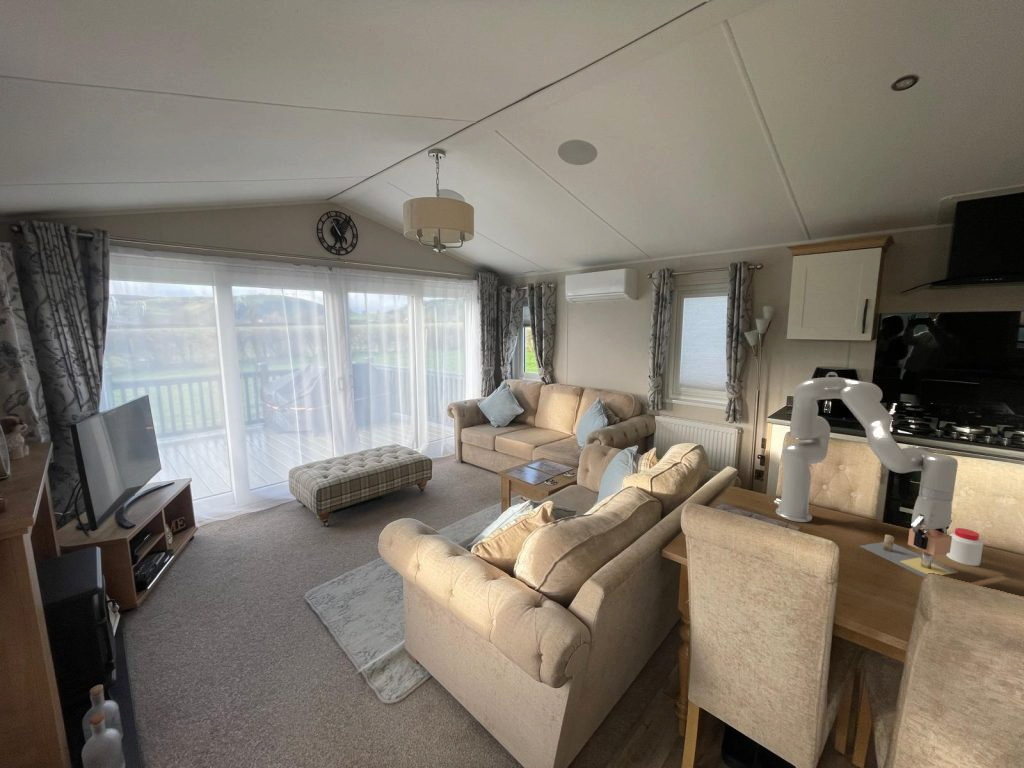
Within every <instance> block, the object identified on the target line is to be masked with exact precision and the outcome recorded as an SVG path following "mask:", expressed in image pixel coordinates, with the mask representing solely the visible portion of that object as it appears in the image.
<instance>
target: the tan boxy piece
mask: <svg viewBox="0 0 1024 768" xmlns="http://www.w3.org/2000/svg"><path fill="white" fill-rule="evenodd" d="M923 527H926V526H925V525H923ZM921 530H922V531H923V532H924V530H925V529H923V528H921ZM914 536H915V534H914V531H913V528H912V527H911V528H909V531H908V541H907V545H908V546H910V547H914V549H915V548H916V549H917V550H919V551H924V552H927V553H929V554H931V555H933V556H940V555H944V554H946V553H950V548H951V541H952V536H950V534H948V533H947V534H945V533H942V532H939V531H937V530H934V529H933V530H930V531H929V532H928V534H927V536H926V537H927V538H928V542H927V549H925V550H924V549H922V548H919V547H917V546H915V545H914Z"/></svg>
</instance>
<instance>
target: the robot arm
mask: <svg viewBox="0 0 1024 768" xmlns="http://www.w3.org/2000/svg"><path fill="white" fill-rule="evenodd" d="M832 399H836V400H837V399H839V400H842V402H843V404H844V405H845V406H846V407H847V408H848V409H849V411H850V412H851V413H852V415H853V416H854V417H855V418H856V419H857V421H858V422H859V423H860V424H861V425H862V427H863V428H864V430H865V435H866V439H867V442H868V445H869V448H870V449H871V450H872V452H873V453H874V455H875V456H876V458H877V459H879V461H880V462H881V464H882V465H883V466H885V467H886V468H887V469H889V471H891V472H894V473H898V474H906V473H911V472H919V471H920V472H921V473H920V474H921V477H920V482H919V483H920V484H919V491H918V496H917V498H916V500H915V503H914V507H913V511H912V516H911V524H910V526H911V528H913V531H914V534H915V536H914V545H915V546H917V547H919V548H922V549H924V550H925V549H927V542H928V538H927V537H926V536H927V534H928V532H929V531H930V530H933V529H934V530H937V531H939V532H942V533H945V534H947V535H948V529H949V528H950V525H951V524H952V522H953V520H952V511H953V509H952V508H953V506H952V505H953V504H952V503H953V501H954V500H953V499H954V492H955V486H956V480H957V474H958V473H957V472H958V468H959V467H958V465H959V463H958V460H957V459H956V458H955V457H954V456H953V457H952V456H949V455H946V454H942V453H941V454H940V453H935V452H930V451H927V450H925V449H921V448H919V447H912V446H911V447H906V448H901V447H900V446H899V444H898V443H897V442H896V441H895V439H894V438H893V436H892V434H891V427H890V426H891V424H892V421H893V416H892V414H890V413H889V411H888V410H887V409H886V408H885V407H884V405H883V404H882V403H881V401H882V399H883V391H882V389H881V388H880V387H879V386H878V385H877V384H875V383H872V382H869V381H861V380H857V379H851V378H845V377H839V376H832V377H831V376H829V377H817V378H816V377H815V378H810V379H807V380H804V381H801V382H800V383H799V384H797V386H796V387H795V389H794V392H793V398H792V403H793V405H792V411H791V418H790V426H789V433H790V435H791V437H792V439H793V438H794V440H797V442H793V443H790V444H787V445H786V446H785V447H784V449H783V451H782V460H783V461H782V462H783V473H782V474H783V475H782V489H781V497H780V498H779V497H778V498H776V499H775V500H774V501H773V503H774V504H775V505H778V507H776V508H775V509H776V510H775V514H777V516H778V517H781V518H783V519H786V520H788V521H792V522H797V523H809V522H811V521H812V519H813V516H812V515H811V514H810V513H809V504H810V494H811V482H812V473H811V471H810V465H814V464H819V463H822V462H823V461H824V460H825V459H826V457H827V456H828V455H827V454H828V450H829V443H830V437H831V427H830V424H829V421H827V419H825V418H824V417H822V416H819V415H818V414H819V405H818V402H817V401H819V400H832ZM924 526H926V527H924ZM921 528H923V529H925V530H924V532H923V531H922V530H921Z"/></svg>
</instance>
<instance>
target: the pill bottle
mask: <svg viewBox="0 0 1024 768" xmlns="http://www.w3.org/2000/svg"><path fill="white" fill-rule="evenodd" d="M949 535H950V536H952V541H951V548H950V553H945V554H946V557H947V558H948V559H951V560H952V561H955V562H957V563H958V564H959V563H960V564H962V565H963V564H964V565H967V566H975V567H977V566H980V565H981V561H982V556H983V554H982V553H983V550H984V549H983V548H984V542H983V541H982V540H981V539H980V534H979V533H978V532H976V531H974V530H972V529H967V528H962V527H956V528H955V529H954V532H953V533H950V534H949Z"/></svg>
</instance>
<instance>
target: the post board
mask: <svg viewBox="0 0 1024 768" xmlns="http://www.w3.org/2000/svg"><path fill="white" fill-rule="evenodd" d="M859 547H860V548H862V549H865V550H867V551H869V552H870V553H873V554H875V555H876V556H879V557H881V558H883V559H885V560H887V561H890V562H892V563H894V564H895V565H897V566H900V567H902V568H904V569H905V570H908V571H910V572H913V573H914V574H915V575H918V576H921V578H924V577H925V576H926V574H928V573H935V574H940V575H942V576H945V575H952V574H956V573H958V571H957V570H955V569H952V568H950V567H948V566H946V565H943V564H942V563H939V562H938V561H934V560H933V558H934V557H933V556H934V555H931V554H929V553H927V552H924V551H922V550H921V551H922V553H921V554H920V553H917V552H914V551H912V550H909V549H907V548H906V547H903V546H900V545H899V544H897V543H895V536H893V535H890V534H884V539H883V541H880V542H875V543H868V544H863V545H859Z"/></svg>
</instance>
